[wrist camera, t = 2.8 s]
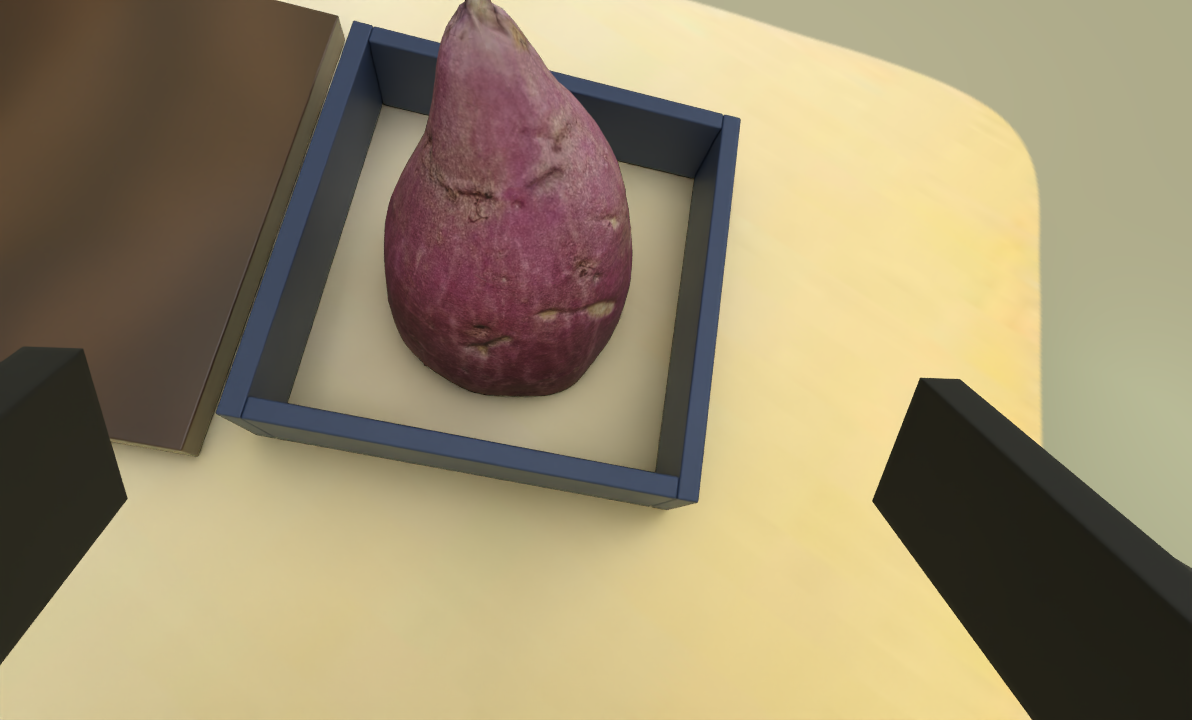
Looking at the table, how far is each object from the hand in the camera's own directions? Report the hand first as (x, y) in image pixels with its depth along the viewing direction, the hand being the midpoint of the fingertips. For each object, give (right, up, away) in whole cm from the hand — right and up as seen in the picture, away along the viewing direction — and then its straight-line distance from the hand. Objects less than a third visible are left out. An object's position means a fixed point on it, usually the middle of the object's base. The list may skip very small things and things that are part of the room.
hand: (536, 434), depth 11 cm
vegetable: (-3, +4, +18) cm, 19 cm away
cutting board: (-19, +8, +16) cm, 27 cm away
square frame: (-3, +4, +18) cm, 19 cm away
